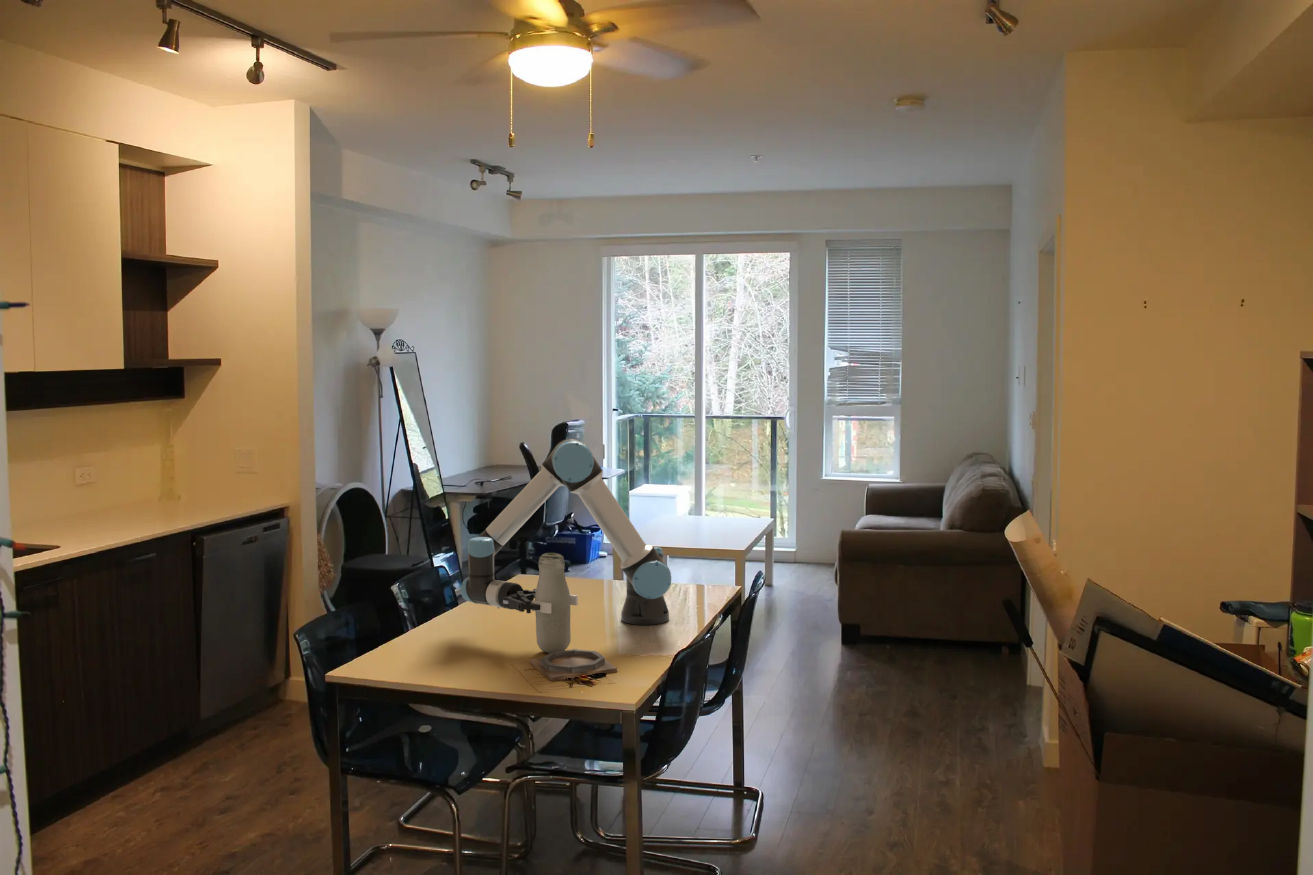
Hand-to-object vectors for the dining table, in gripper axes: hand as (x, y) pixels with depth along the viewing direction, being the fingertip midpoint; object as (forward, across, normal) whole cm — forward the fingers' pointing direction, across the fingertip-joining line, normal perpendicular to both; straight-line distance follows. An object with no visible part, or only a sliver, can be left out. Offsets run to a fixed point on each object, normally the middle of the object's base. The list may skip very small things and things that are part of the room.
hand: (563, 604), depth 271 cm
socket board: (+10, +8, -14) cm, 19 cm away
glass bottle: (-4, 0, -14) cm, 15 cm away
